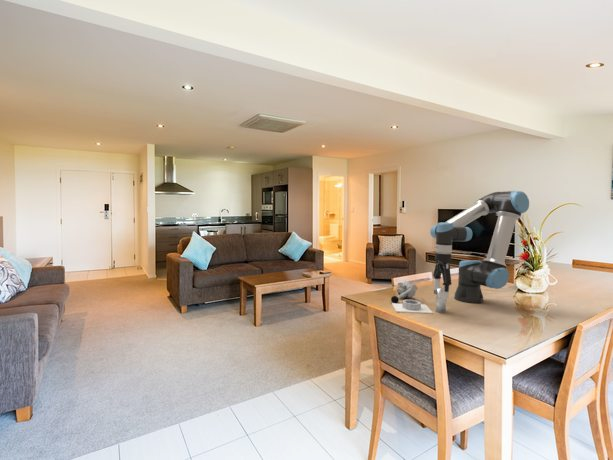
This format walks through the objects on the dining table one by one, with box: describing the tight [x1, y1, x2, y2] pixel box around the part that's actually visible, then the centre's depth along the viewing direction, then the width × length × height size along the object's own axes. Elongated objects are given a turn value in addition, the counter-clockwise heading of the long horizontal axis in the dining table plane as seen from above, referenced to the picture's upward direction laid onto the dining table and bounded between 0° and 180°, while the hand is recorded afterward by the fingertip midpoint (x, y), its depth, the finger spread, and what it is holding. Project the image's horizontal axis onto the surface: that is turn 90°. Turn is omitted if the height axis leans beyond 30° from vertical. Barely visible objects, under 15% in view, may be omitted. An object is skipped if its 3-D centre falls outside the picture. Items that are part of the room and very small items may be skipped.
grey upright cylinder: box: [433, 286, 448, 314], centre depth 166 cm, size 6×5×12 cm
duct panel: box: [391, 299, 434, 315], centre depth 170 cm, size 18×14×4 cm
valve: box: [390, 280, 418, 304], centre depth 187 cm, size 10×18×15 cm
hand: (440, 294), depth 166 cm, fingers open, 13 cm apart
